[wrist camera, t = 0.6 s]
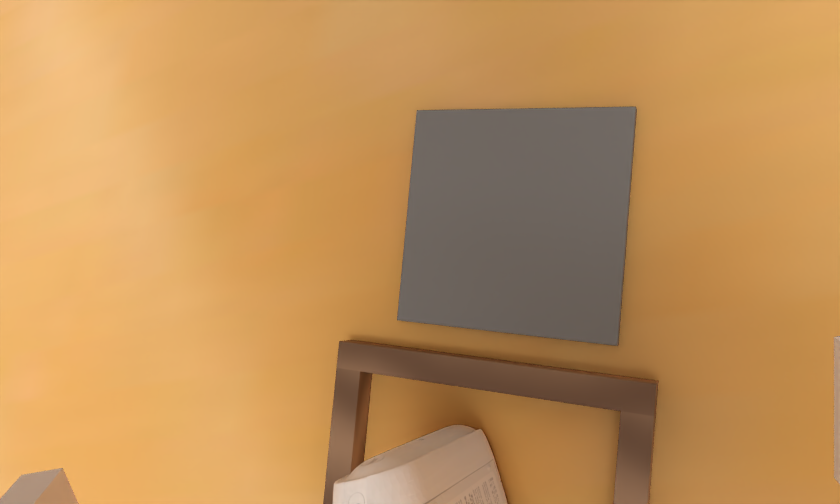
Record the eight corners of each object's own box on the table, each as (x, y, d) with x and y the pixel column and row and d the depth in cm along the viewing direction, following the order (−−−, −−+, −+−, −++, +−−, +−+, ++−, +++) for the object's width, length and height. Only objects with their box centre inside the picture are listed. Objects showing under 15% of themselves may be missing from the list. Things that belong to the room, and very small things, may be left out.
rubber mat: (420, 112, 39) (416, 110, 39) (636, 109, 34) (635, 106, 34) (400, 319, 38) (397, 320, 38) (618, 345, 34) (617, 345, 33)
